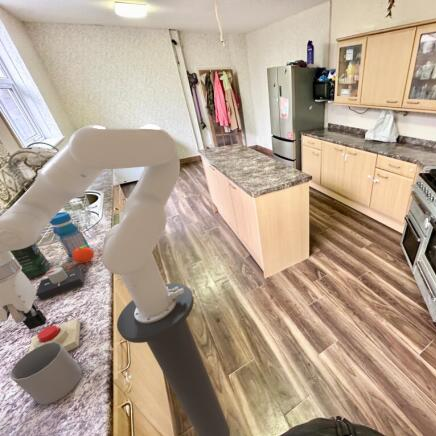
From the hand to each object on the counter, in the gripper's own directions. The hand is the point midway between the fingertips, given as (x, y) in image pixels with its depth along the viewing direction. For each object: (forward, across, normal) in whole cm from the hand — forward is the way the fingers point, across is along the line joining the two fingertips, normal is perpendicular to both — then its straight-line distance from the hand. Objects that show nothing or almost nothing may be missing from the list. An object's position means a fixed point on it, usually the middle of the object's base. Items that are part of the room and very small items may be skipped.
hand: (38, 324), depth 62 cm
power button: (+5, 0, +1) cm, 5 cm away
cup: (+9, +15, +3) cm, 18 cm away
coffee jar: (+9, -50, -10) cm, 52 cm away
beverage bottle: (+9, -54, +4) cm, 55 cm away
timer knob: (+6, -31, 0) cm, 32 cm away
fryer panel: (+9, -31, 0) cm, 32 cm away
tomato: (+9, -45, +7) cm, 46 cm away
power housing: (+8, 0, +1) cm, 9 cm away
